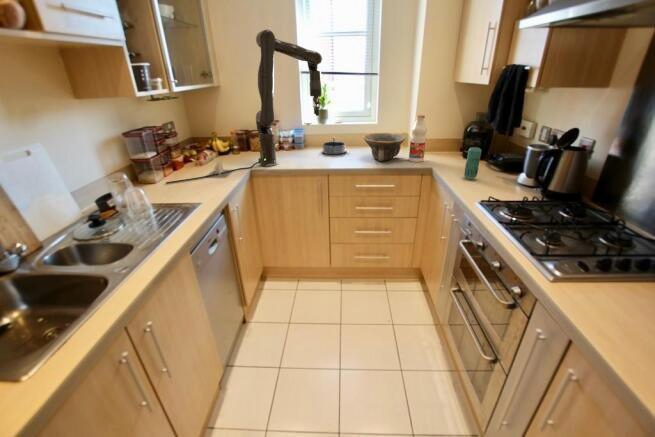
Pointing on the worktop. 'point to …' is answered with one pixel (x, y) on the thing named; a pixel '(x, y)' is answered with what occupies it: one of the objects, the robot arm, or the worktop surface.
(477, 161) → the beverage bottle
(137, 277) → the worktop surface
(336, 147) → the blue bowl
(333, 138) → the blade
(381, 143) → the bowl
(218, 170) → the architectural model
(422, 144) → the fruit juice
